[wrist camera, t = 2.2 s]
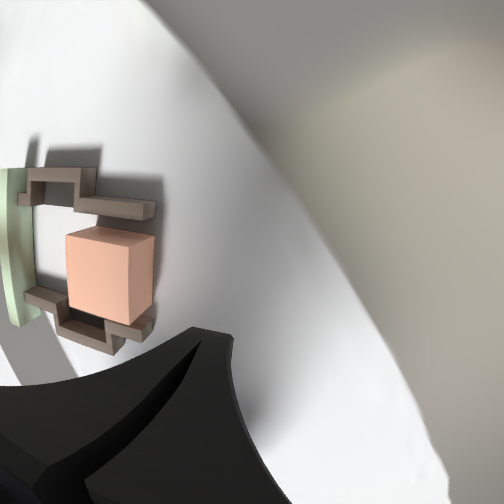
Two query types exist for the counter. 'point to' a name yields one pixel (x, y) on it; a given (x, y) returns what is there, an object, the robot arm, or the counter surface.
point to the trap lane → (22, 253)
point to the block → (110, 272)
